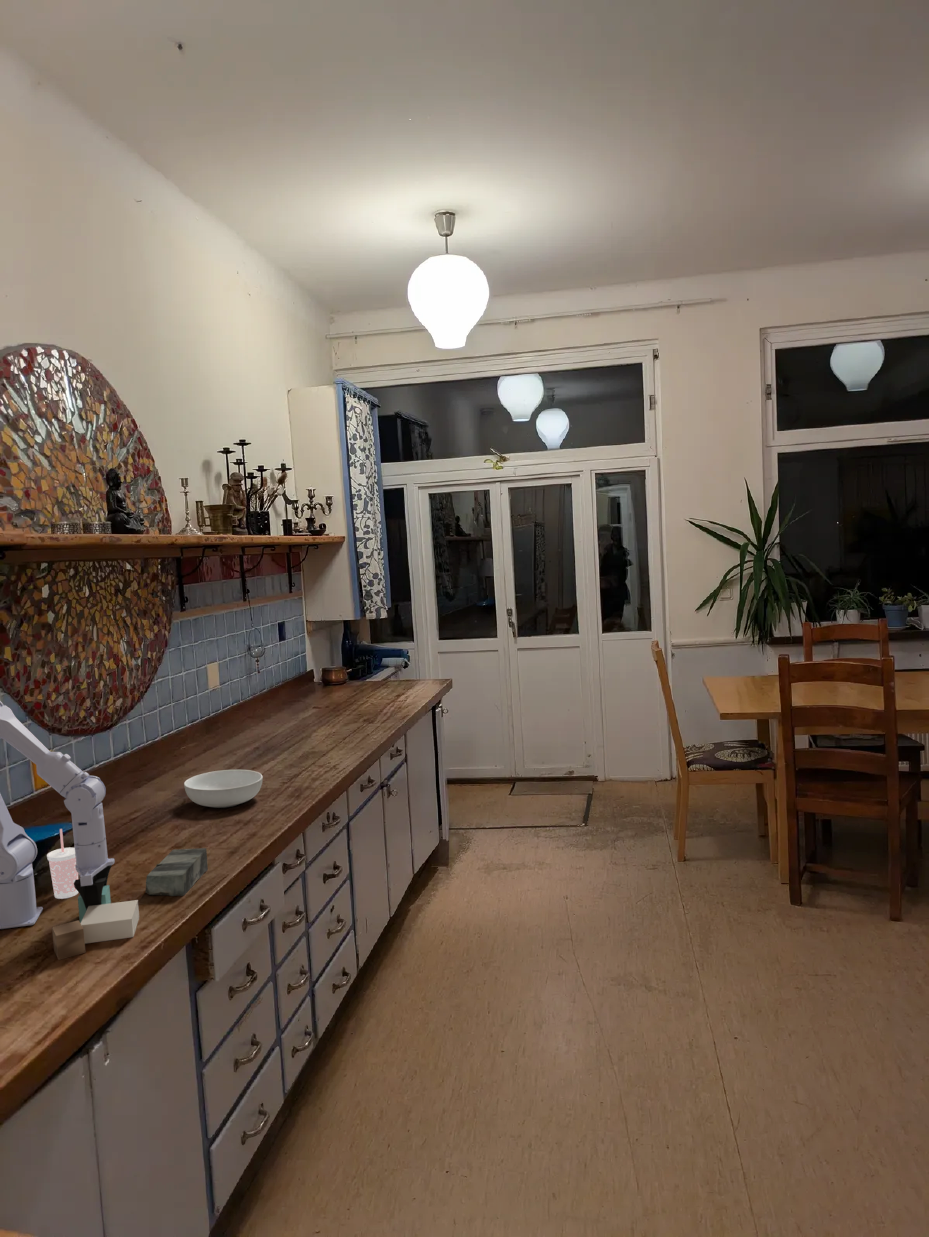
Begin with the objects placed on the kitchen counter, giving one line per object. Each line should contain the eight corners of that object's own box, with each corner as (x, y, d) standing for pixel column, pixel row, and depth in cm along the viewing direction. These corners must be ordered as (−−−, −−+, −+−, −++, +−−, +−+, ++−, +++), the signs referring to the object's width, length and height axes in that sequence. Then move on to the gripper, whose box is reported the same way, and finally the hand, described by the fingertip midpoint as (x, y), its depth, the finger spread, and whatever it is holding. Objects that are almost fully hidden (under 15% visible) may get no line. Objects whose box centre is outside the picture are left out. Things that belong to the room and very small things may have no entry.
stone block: (142, 898, 187) (139, 873, 186) (169, 871, 201) (167, 848, 201) (184, 897, 186) (182, 872, 186) (208, 870, 201) (206, 847, 200)
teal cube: (79, 923, 175) (77, 898, 175) (84, 912, 180) (82, 888, 180) (107, 919, 176) (105, 894, 176) (111, 909, 181) (109, 885, 181)
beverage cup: (46, 894, 190) (40, 829, 189) (75, 886, 194) (69, 822, 193) (57, 902, 186) (51, 836, 184) (87, 893, 190) (81, 828, 189)
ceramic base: (81, 943, 166) (79, 925, 166) (90, 923, 175) (88, 906, 174) (133, 937, 168) (131, 918, 168) (139, 917, 177) (137, 899, 176)
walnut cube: (58, 960, 160) (56, 935, 160) (54, 950, 164) (51, 926, 163) (85, 952, 162) (83, 928, 162) (80, 943, 166) (78, 920, 166)
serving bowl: (244, 815, 238) (242, 790, 238) (171, 814, 243) (169, 789, 242) (276, 792, 259) (274, 769, 258) (208, 791, 263) (206, 768, 262)
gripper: (106, 850, 171) (112, 919, 172) (117, 826, 185) (123, 891, 186) (65, 855, 169) (72, 925, 170) (80, 830, 183) (86, 895, 184)
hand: (96, 907), depth 178 cm, fingers closed on teal cube, 5 cm apart
